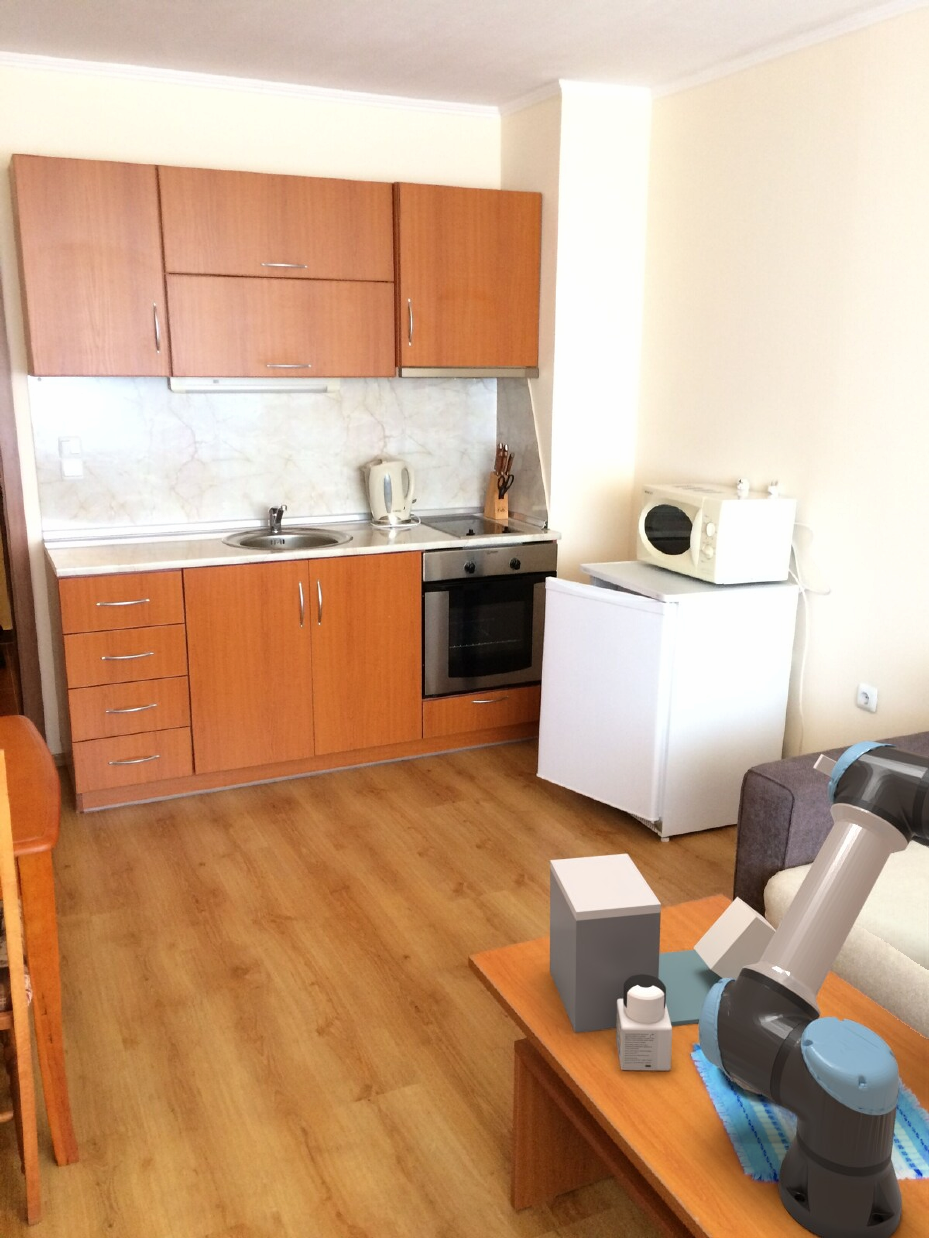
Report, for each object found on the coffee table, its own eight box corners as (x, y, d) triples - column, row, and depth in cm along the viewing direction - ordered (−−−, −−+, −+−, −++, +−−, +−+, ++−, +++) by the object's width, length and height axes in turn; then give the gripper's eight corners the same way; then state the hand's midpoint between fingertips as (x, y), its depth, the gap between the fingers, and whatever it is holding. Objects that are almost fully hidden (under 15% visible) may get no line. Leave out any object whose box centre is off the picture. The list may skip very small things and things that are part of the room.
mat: (734, 949, 194) (734, 945, 194) (781, 1013, 175) (782, 1009, 174) (630, 959, 191) (630, 956, 191) (667, 1026, 172) (667, 1022, 172)
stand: (624, 963, 190) (627, 853, 184) (657, 1023, 172) (661, 904, 167) (549, 971, 188) (550, 860, 182) (575, 1032, 170) (576, 912, 165)
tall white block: (759, 996, 190) (801, 947, 190) (778, 1019, 184) (822, 968, 183) (693, 947, 185) (737, 896, 184) (710, 969, 178) (756, 916, 178)
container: (615, 1039, 169) (617, 968, 166) (663, 1039, 168) (666, 968, 165) (620, 1070, 161) (622, 997, 158) (671, 1071, 161) (673, 997, 158)
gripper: (967, 879, 166) (865, 827, 161) (883, 814, 190) (791, 767, 185) (993, 840, 165) (891, 786, 160) (905, 779, 189) (814, 731, 183)
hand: (837, 776), depth 172 cm, fingers open, 13 cm apart
